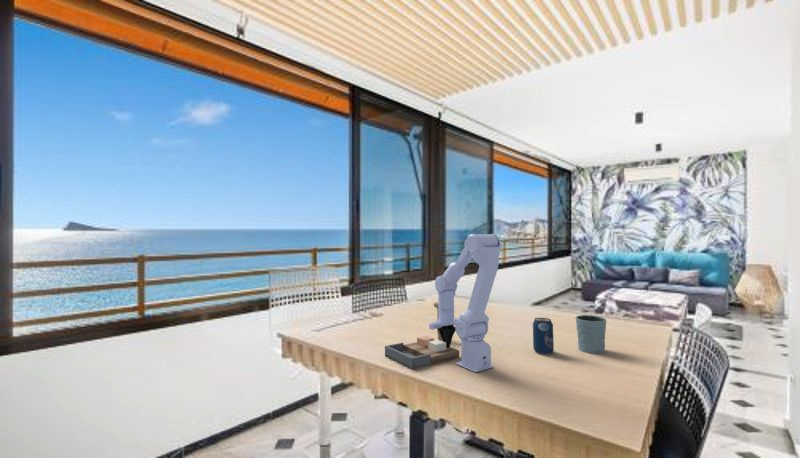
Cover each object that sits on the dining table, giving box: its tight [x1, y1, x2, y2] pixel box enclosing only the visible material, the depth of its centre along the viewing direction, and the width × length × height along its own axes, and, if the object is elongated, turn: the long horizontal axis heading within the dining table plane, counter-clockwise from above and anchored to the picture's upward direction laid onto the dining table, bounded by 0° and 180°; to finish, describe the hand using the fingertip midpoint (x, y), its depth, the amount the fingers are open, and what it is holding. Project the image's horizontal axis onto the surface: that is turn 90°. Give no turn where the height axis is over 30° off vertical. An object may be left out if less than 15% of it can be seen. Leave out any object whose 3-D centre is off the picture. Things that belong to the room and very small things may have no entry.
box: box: [384, 342, 433, 370], centre depth 126 cm, size 17×8×4 cm, turn 33°
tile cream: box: [428, 339, 446, 352], centre depth 130 cm, size 4×4×2 cm
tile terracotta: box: [416, 335, 435, 347], centre depth 136 cm, size 4×4×2 cm
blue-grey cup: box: [575, 314, 607, 355], centre depth 134 cm, size 10×10×12 cm
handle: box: [433, 301, 442, 341], centre depth 152 cm, size 5×6×15 cm
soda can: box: [532, 317, 555, 356], centre depth 133 cm, size 7×7×12 cm
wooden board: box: [404, 341, 460, 365], centre depth 132 cm, size 17×12×2 cm
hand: (446, 346), depth 132 cm, fingers closed
